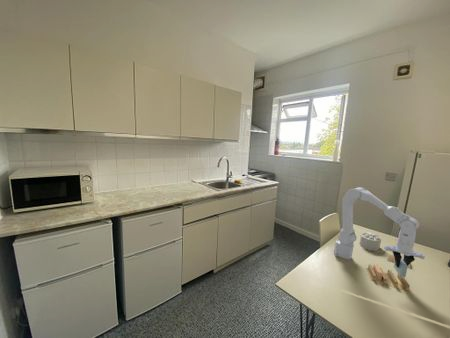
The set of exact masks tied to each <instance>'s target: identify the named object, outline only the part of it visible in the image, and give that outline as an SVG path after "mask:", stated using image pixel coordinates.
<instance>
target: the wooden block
mask: <svg viewBox="0 0 450 338" xmlns="http://www.w3.org/2000/svg"><path fill="white" fill-rule="evenodd" d="M372 267H373V270H374V272H375V274H376V276H377V277H376V280H379V281H381V279H382V274H383V273H382V271H381V269H382V268H381V269H380V266H379V264H376V263H373V265H372Z"/></svg>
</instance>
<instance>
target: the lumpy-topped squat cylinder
mask: <svg viewBox="0 0 450 338" xmlns="http://www.w3.org/2000/svg"><path fill="white" fill-rule="evenodd" d="M381 242H382V237H381V236H380V235H378V234H376V233H372V232H370V231H362V233H360V239H359V246H360V247H362V249H365V250H368V251H372V252H373V251H375V252H377V251H379V250H380V249H381V248H380V247H381Z"/></svg>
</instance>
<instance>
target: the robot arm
mask: <svg viewBox="0 0 450 338" xmlns="http://www.w3.org/2000/svg"><path fill="white" fill-rule="evenodd" d="M358 200H360V201H367V202H370V204H372V205H374V206H376V207H377V208H379V209H380V210H382V211H383V213H384V215H385V216H386V217H388V218H389V219H390V220H392V221H393V222H395V223H396V224H398V227H400V229H399V232H398V236H397V237H398V238H397V242H396V246H393V245H386V244H385V245H384V247H383V249H384V251H385V252H386V251H387V252H388V251H390V252H392V255H393V256H394V257H395V265H396V267H398V268H399V265H400V261H401V258H402V259H403V261H404V262H405V263H406V265H407V266H408V265H409V264H410V265H411V263H413V262H414V261H415V260H416V258H418V259H419V258H420V259H421V260H425V257H426V256H425V254H424V253H421V252H418V251H415V250H414V246H415V242H416V236H417V235H416V234H417V229H419V227H420V222H419V220H418V219H416V218H415V217H412V216H410V215H409V214H406V213H405V212H403V211H401V210H400V208H399V207H398V206H397V207H395V206H394V205H388V204H387V203H385V202H384V201H382V200H381V199H380V198H378V197H377V196H376V195H375V194H373V193H372V192H370V191H369V190H367V189H366V188H364V187H362V186H361V187H359V186H358V187H356V188H349V190H347V191H346V193H345V194H344V196H343V197H342V203H341V204H342V205H341V207H342V209H341V210H342V217H341V218H342V223H341V224H342V227H341V229H340V231H339V235H338V240H335V242H334V249H333V253H334V256H336V257H340V258H342V259H345V260H352V257H353V253H354V252H353V251H354V247H355V245H354V243H355V242H356V241H357V235H356V230H355V229H354V202H356V201H358ZM402 255H403V256H402Z"/></svg>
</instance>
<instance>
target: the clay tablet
mask: <svg viewBox="0 0 450 338" xmlns="http://www.w3.org/2000/svg"><path fill="white" fill-rule="evenodd" d="M403 259H404V258H402V260H403ZM387 262H390V263H393V264H394V263H395V257H394V254H391V253H387ZM407 269H409V270H410V269H411V263H410V264H409V265H408V267H407Z"/></svg>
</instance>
